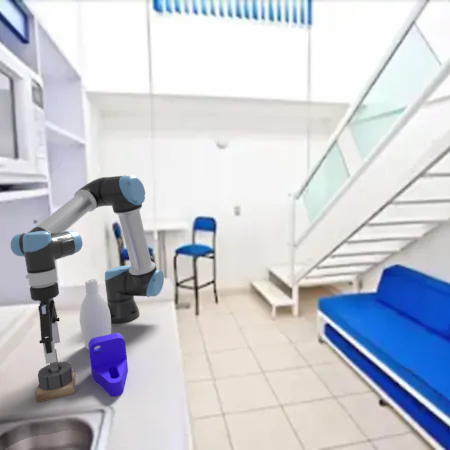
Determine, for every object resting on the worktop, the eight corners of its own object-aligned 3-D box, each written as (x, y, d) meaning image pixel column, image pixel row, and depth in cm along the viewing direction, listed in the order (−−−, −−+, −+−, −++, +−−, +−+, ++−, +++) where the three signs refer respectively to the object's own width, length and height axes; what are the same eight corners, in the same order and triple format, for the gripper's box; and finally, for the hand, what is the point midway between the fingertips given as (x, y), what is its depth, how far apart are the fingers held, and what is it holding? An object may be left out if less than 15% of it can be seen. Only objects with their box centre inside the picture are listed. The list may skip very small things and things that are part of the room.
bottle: (93, 338, 149) (86, 276, 146) (118, 339, 147) (112, 276, 144) (76, 351, 138) (68, 285, 135) (104, 352, 136) (96, 285, 133)
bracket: (91, 373, 122) (87, 339, 120) (125, 364, 126) (122, 331, 125) (97, 402, 106) (93, 362, 104) (136, 390, 110) (132, 352, 109)
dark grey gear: (72, 371, 120) (71, 359, 119) (71, 385, 111) (70, 372, 111) (41, 378, 117) (40, 365, 116) (38, 392, 108) (36, 379, 108)
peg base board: (41, 383, 118) (36, 346, 116) (75, 375, 121) (71, 340, 119) (36, 402, 107) (31, 362, 106) (73, 393, 111) (69, 354, 109)
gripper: (35, 276, 120) (44, 338, 124) (22, 299, 97) (34, 375, 100) (60, 272, 123) (69, 333, 126) (53, 294, 100) (64, 368, 103)
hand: (53, 352), depth 113 cm, fingers open, 13 cm apart
